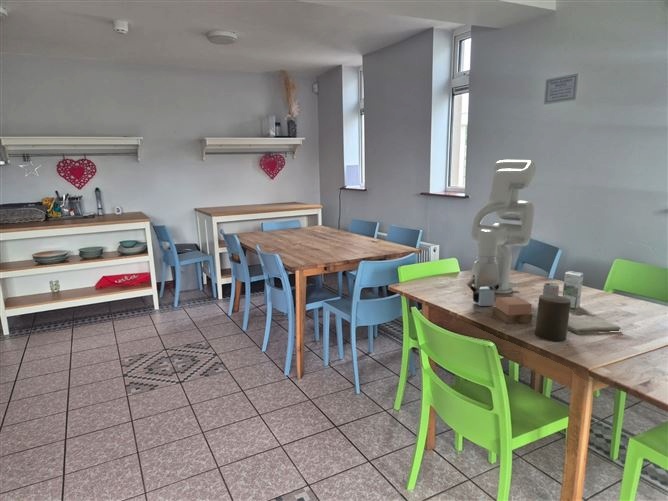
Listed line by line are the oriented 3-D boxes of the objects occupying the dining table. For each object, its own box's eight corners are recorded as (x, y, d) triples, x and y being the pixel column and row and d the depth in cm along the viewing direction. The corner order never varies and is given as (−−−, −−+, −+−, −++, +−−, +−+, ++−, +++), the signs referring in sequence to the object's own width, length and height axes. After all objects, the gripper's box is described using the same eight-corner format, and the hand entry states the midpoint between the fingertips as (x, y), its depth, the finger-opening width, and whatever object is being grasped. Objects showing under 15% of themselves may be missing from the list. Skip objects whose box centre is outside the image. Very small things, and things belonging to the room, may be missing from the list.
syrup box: (579, 306, 178) (584, 272, 175) (576, 309, 174) (580, 275, 171) (564, 303, 182) (568, 270, 179) (560, 306, 177) (564, 272, 174)
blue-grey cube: (486, 300, 182) (487, 286, 180) (493, 305, 176) (494, 291, 175) (473, 301, 181) (473, 287, 179) (479, 305, 175) (480, 292, 174)
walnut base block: (516, 315, 168) (517, 305, 167) (531, 324, 158) (532, 314, 157) (492, 316, 166) (493, 306, 165) (506, 325, 156) (507, 315, 156)
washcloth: (622, 333, 150) (624, 325, 149) (576, 336, 148) (577, 327, 147) (598, 321, 162) (599, 313, 161) (554, 323, 159) (555, 315, 159)
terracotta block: (517, 306, 166) (518, 296, 165) (530, 314, 157) (531, 303, 157) (495, 307, 165) (496, 297, 164) (507, 315, 156) (508, 304, 155)
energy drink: (543, 310, 172) (546, 281, 170) (557, 313, 168) (561, 284, 166) (538, 313, 169) (541, 284, 166) (553, 317, 165) (556, 287, 162)
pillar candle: (552, 344, 140) (557, 300, 137) (528, 333, 148) (532, 291, 146) (572, 339, 144) (578, 297, 141) (548, 329, 152) (553, 289, 149)
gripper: (501, 256, 179) (497, 297, 183) (462, 257, 177) (459, 299, 180) (511, 260, 172) (507, 302, 176) (470, 262, 169) (468, 305, 173)
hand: (483, 300), depth 178 cm, fingers closed on blue-grey cube, 6 cm apart
